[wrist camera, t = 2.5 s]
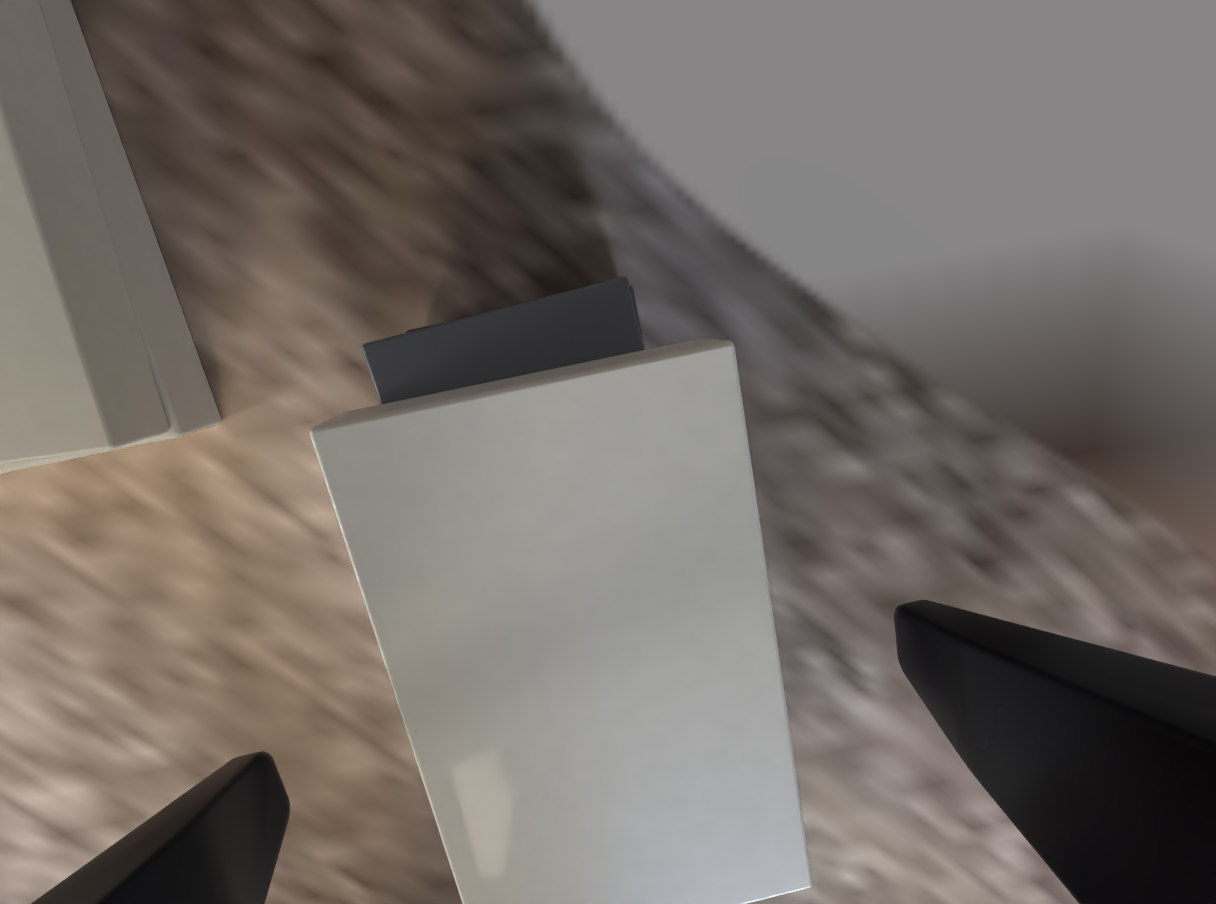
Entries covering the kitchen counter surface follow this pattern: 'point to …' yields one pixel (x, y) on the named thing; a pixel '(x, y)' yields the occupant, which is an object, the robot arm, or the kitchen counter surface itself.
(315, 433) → the white book
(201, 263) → the kitchen counter surface
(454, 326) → the dark grey rectangular block
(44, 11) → the cream flat block
